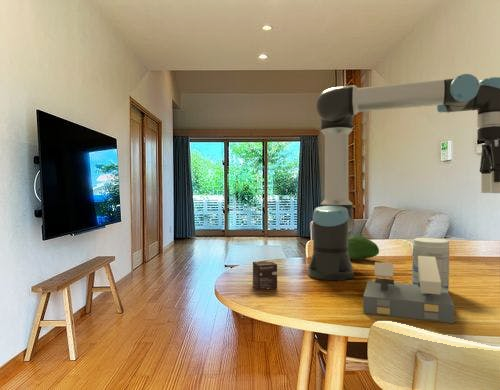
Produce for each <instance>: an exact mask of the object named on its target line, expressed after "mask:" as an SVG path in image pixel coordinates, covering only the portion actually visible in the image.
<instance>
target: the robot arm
mask: <svg viewBox="0 0 500 390" xmlns="http://www.w3.org/2000/svg"><path fill="white" fill-rule="evenodd" d="M431 106H432V107H433V106H436V110H437V112H438V113H456V112H467V111H468V112H469V111H477V115H476V117H477V119H476V122H477V123H476V127H477V128H478V129H477V130H476V131H477V140H478V141H481V142H482V141H483V142H484V144H482V145H481V156H480V157H481V158H480V165H479V173H480V193H481V194H500V77H498V76H494V77H492V76H491V77H488V78H483V79H480V80H479V79H478V78H477V77H476V76H475V75H473V74H471V73H462V74H460V75H458V76H456V77H455V78H447V79H438V80H430V81H429V80H427V81H426V80H425V81H420V82H419V81H417V82H409V83H406V82H405V83H396V84H386V85H377V86H376V85H375V86H368V87H358V86H356V85H355V84H354V85H346V86H344V85H343V86H336V87H335V86H334V87H330V88H327V89H325V90H324V91H322V92H321V93H320V95H319V96H318V98H317V100H316V104H315V107H316V112H317V115H319V117H320V132H321V133H322V134H323V135H324V199H323V201H321V202H320V206H317V207H315V208H314V210H313V214H312V215H313V216H312V235H313V236H312V241H313V242H312V245H313V246H312V255H311V258H310V261H309V264H308V267H307V275H308V277H310V278H313V279H317V280H323V281H324V280H326V281H346V280H351V279H352V278H354V276H355V275H354V274H355V273H354V268H353V264H352V261H351V258H350V257H349V255H348V238H349V236H350V235H351V233H352V232H353V230H354V226H355V220H354V215H353V214H354V213H353V212H354V211H353V209H354V208H353V202H352V201H350V199H349V135H350V134H351V133H352V132H353V130H354V125H353V124H354V121H353V119H354V117H355V115H357V114H358V113H360V112H369V111H370V112H371V111H380V110H393V109H394V110H395V109H407V108H419V107H420V108H421V107H431Z"/></svg>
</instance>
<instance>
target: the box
mask: <svg viewBox="0 0 500 390" xmlns="http://www.w3.org/2000/svg"><path fill="white" fill-rule="evenodd" d="M253 285H254V286H255V287H254V286H253ZM252 286H253V287H254V288H256V290H258V289H266V290H268V289H267V288H277V289H278V264H277V263H275V262H273V261H272V260H267V261H265V260H263V261H261V260H260V261H252Z"/></svg>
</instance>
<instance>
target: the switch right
mask: <svg viewBox="0 0 500 390" xmlns="http://www.w3.org/2000/svg"><path fill="white" fill-rule="evenodd" d="M418 273H419V281H420V289H421V293H428V294H439V295H441V280H440V276H439V271H438V267H437V263H436V259H435V257H429V256H418Z"/></svg>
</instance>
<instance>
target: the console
mask: <svg viewBox="0 0 500 390" xmlns="http://www.w3.org/2000/svg"><path fill="white" fill-rule="evenodd" d="M362 306H363V308H362V309H363V311H362V313H363V314H370V315H378V316H380V315H381V316H387V317H396V318H404V319H405V318H406V319H414V320H423V321H432V322H439V323H448V324H455V304H454V302H453V300H452V298H451V296H450V293H449V291H448V292H447V290H446V288H445V287H441V295H439V294H428V293H421V289H420V282H418V285H415V284H412V283H400V282H395V280H394V279H387V278H379V277H378V278H377V277H376V278H375V279H374V280H367V283H366V285H365V290H364V292H363V299H362Z"/></svg>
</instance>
